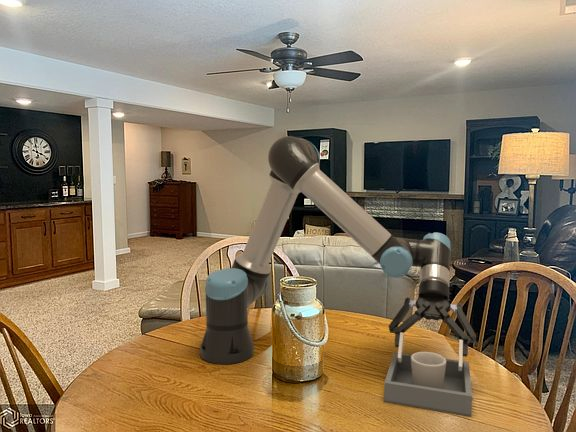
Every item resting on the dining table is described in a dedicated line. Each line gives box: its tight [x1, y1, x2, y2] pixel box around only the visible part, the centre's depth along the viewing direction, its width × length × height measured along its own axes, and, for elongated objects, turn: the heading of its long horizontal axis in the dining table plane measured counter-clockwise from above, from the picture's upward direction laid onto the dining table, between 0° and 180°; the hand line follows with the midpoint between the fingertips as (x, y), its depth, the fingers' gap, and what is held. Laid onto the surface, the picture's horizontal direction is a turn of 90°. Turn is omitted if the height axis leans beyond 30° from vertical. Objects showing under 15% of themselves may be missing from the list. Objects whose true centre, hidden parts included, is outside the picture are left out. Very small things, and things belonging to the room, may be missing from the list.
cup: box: [411, 351, 447, 389], centre depth 109 cm, size 11×8×8 cm
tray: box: [383, 351, 473, 417], centre depth 109 cm, size 18×18×4 cm
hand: (429, 364), depth 106 cm, fingers open, 13 cm apart
